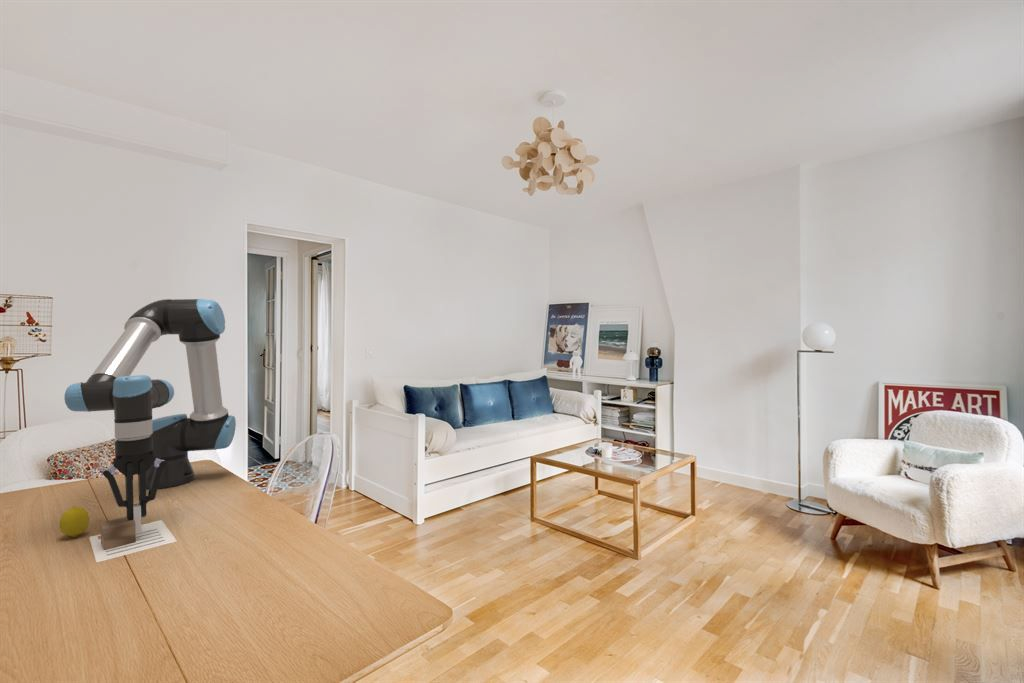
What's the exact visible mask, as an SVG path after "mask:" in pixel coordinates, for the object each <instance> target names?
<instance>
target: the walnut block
mask: <svg viewBox="0 0 1024 683" xmlns="http://www.w3.org/2000/svg"><path fill="white" fill-rule="evenodd" d="M100 534H101V544H102V547H103V549H104V550H107V549H110V548H114V547H118V546H122V545H126V544H130V543H134V542H136V532H135V521H134V519H132V520H128V518H127V516H123V517H119V518H115V519H112V520H106V521H102V522H100Z"/></svg>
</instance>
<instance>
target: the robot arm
mask: <svg viewBox="0 0 1024 683" xmlns="http://www.w3.org/2000/svg"><path fill="white" fill-rule="evenodd" d="M123 329H124V331H123V332H122V334H121V335H120V336H119V338H118V339H117V341H116V342H115V343H114V345H113V346H112V347H111V348H110V350H109V351H108V353H107V354H106V355H105V356H104V358H103V359H102V361H101V362H100V363H99V364H98V366H97V367H96V369H95V370H94V372H93V373H92V374H90V376H89V377H88V379H87V380H86V382H75V383H72V384H70V385H68V386H67V388H66V390H65V392H64V403H65V406H66V407H67V408H68V410H70V411H71V412H89V413H90V412H105V411H113V412H114V419H113V420H114V438H115V439H116V440H115V441H114V455H115V457H114V460H113V462H112V464H111V465H110V466H109V467H107V468H104V469H102V470H101V473H102V475H103V476H104V477H105V478H106V479H107V481H108V483H109V486H110V489H111V491H112V494H113V497H114V500H115V503H116V504H117V506H118V507H119V508H126V517H127V518H128V520H132V519H134V521H135V532H136V533H138V532H142V527H141V525H142V518H145V517H146V516H147V504H148V503H149V502H151V501H154V500H155V499H156V496H157V492H158V489H166V488H171V487H177V486H181V485H183V484H184V485H185V484H187V483H189V482H191V481H194V479H195V471H194V468H193V466H192V465H191V462H190V459H189V454H188V453H189V452H197V451H212V450H214V451H216V450H222V449H227V448H229V447H230V445H231V444H232V442H233V440H234V436H235V433H236V426H237V419H236V418H235V416H234V415H232V414H230V415H229V409H228V408H227V407H225V406H223V399H222V397H223V396H222V391H221V390H222V388H221V380H220V371H219V363H218V354H217V345H216V343H217V342H218V341H219V339H221V334H223V333H224V332H225V330H226V319H225V314H224V311H223V309H222V306H221V305H220V304H219V303H218V302H217V301H215V300H213V299H202V298H197V299H196V298H193V299H191V298H188V299H186V298H185V299H183V298H181V299H178V298H177V299H170V298H168V299H167V298H166V299H160V300H156V301H155V300H154V302H150V303H148V304H146V305H145V306H143V307H141V308H140V309H138V310H136V311H135V312H134V313H133V314H131V316H130V317H129V318H128V319H127V321H126V322H125V323H124V328H123ZM164 335H165V336H166V335H178V339H179V342H180V343H182V344H183V345H184V346H185V352H186V358H187V365H188V373H189V374H188V375H189V381H190V389H191V390H190V391H191V395H192V396H191V398H192V404H193V411H192V412H191V413H190V414H189V417H188V414H186V413H179V414H173V415H168V416H161V417H158V418H153V409H156V408H161V407H163V406H164V405H167V404H168V403H170V402H171V401H172V400H173V398H174V395H175V389H174V386H173V385H172V384H171V383H170V382H169V381H168V380H165V379H159V378H158V379H152V378H151V377H150V376H149V375H146V374H145V375H143V374H142V375H132V373H133V372H134V370H135V368H136V367H137V366H138V364H139V363H140V361H141V359H142V358H143V357H144V355H145V354H146V352H147V350H148V349H149V348H150V345H152V344H153V342H154V343H155V342H156V341H158V340H159V339H160V337H162V336H164ZM116 470H118V471H119V473H121V474H122V475H123V476H124V479H125V485H124V486H125V499H124V498H123V496H122V494H121V491H120V488H119V485H118V483H117V480H116V477H115V475H116ZM135 475H137V480H138V481H137V482H138V483H137V484H138V490H137V491H138V503H134V502H135V501H134V476H135ZM147 489H148V493H147Z"/></svg>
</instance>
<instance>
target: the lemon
mask: <svg viewBox="0 0 1024 683" xmlns="http://www.w3.org/2000/svg"><path fill="white" fill-rule="evenodd" d="M89 515H90V514H89V513H88V510H86V509H85V508H83V507H81V506H80V507H79V506H76V505H73V506H71V507H70V508H69V509H67V510H66V511H64V512H63V514H62V515H61V517H60V520H59V529H60V532H61V533H62V534H63V535H65V536H66V537H67V536H68V537H72V538H77V537H78V536H79V535H80V534H82V533H84V532H85V531H86V530H87V528H89V524H90V516H89Z"/></svg>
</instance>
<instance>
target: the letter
mask: <svg viewBox="0 0 1024 683" xmlns="http://www.w3.org/2000/svg"><path fill="white" fill-rule="evenodd" d="M141 527H142V532H138V533H136V542H134V543H130V544H126V545H122V546H118V547H114V548H110V549H107V550H104V549H103V547H102V544H101V533H99V534H96V535H93V536H92V535H91V536H89V542H90V546H91V548H92V551H93V555H94V558H95V559H94V560H95V561H96V563H100V562H104V561H108V560H112V559H115V558H119V557H123V556H127V555H130V554H134V553H138V552H142V551H146V550H149V549H153V548H157V547H160V546H164V545H168V544H172V543H176V542H177V539H176V537H175V536H174V535H173V534H172V533H171V531H170V530H169V528H168V527H167V525H166V524H165V522H164V521H163V520H162V519H160V520H156V521H151V522H148V523H144V524H141Z"/></svg>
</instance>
